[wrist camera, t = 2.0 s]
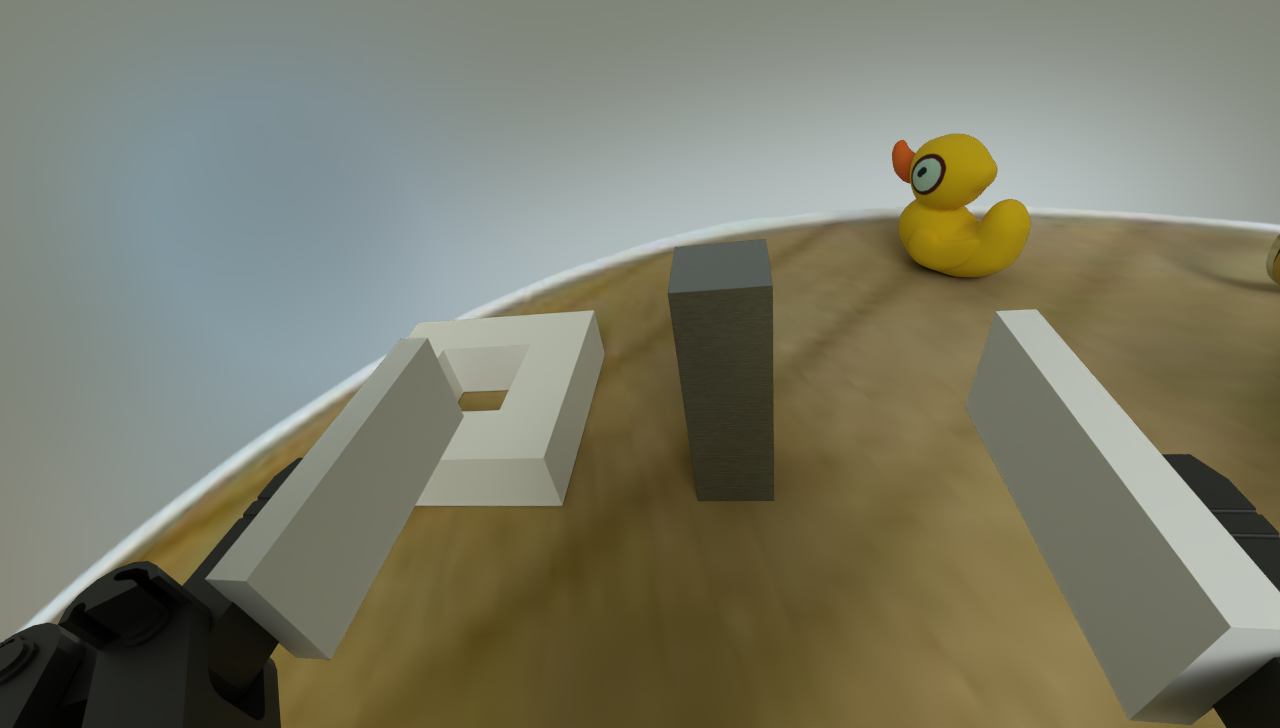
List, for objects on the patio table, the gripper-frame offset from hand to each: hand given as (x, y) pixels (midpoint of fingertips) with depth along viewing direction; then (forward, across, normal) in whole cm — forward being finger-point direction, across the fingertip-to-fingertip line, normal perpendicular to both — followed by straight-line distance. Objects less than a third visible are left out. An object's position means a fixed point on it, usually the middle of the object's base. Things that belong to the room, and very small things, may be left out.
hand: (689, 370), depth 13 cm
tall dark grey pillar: (+10, +1, -15) cm, 18 cm away
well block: (+15, -16, -16) cm, 27 cm away
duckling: (+31, +18, -15) cm, 39 cm away
